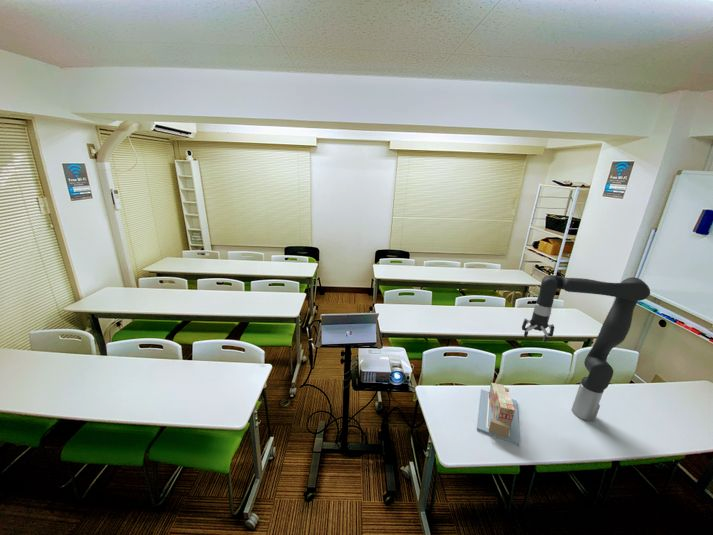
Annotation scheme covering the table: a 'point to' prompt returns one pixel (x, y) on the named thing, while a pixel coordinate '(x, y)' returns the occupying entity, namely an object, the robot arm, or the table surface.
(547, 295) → the robot arm
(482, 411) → the board
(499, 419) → the stack of blocks
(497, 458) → the table surface
